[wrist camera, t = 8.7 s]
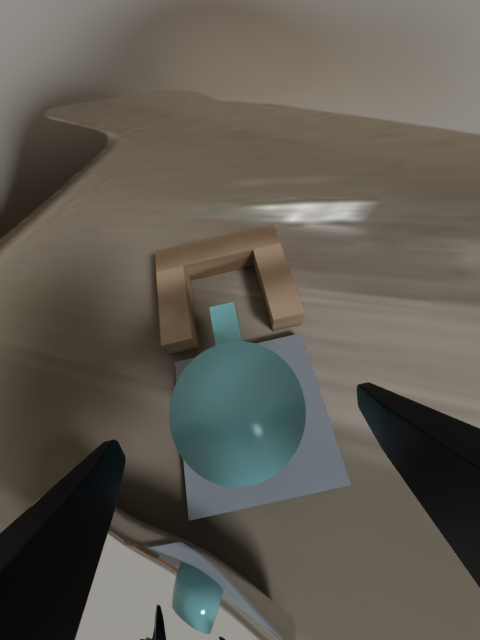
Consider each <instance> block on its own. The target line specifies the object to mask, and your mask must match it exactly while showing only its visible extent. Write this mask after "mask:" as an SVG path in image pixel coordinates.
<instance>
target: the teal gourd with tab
mask: <svg viewBox="0 0 480 640" xmlns="http://www.w3.org/2000/svg"><path fill="white" fill-rule="evenodd" d="M209 309H210V315H211V321H212V327H213V333H214V339H215V345H216V346H213V347H211V348H209V349H207V350H205V351H204V352H202V353H201V354H199V355H198V356H197V357H195V358H194V359H193V360H192V361H191V362H190V363H189V364H188V366H187V367H186V368H185V369H184V371H183V372H182V374H181V375H180V377H179V379H178V381H177V383H176V385H175V388H174V391H173V393H172V398H171V402H170V411H169V415H170V428H171V433H172V437H173V440H174V443H175V445H176V448H177V450H178V451H179V453H180V455H181V457H182V458H183V459H184V461H185V462H186V463H187V465H188V466H189V467H190V468H191V469H192V470H193V471H194V472H196V473H197V474H198V475H200V476H201V477H202V478H204V479H206V480H208V481H210V482H212V483H215V484H218V485H221V486H227V487H247V486H252V485H255V484H259V483H261V482H263V481H265V480H268V479H270V478H271V477H273V476H274V475H275V474H277V473H278V472H279V471H280V470H281V469H283V468H284V467H285V466H286V465H287V463H288V462H289V461H290V460H291V458H292V457H293V455H294V454H295V452H296V450H297V449H298V446H299V444H300V442H301V439H302V436H303V432H304V428H305V421H306V407H305V399H304V395H303V391H302V388H301V385H300V383H299V381H298V379H297V377H296V375H295V373H294V372H293V370H292V369H291V367H290V366H289V365H288V364H287V363H286V362H285V361H284V360H283V359H282V358H281V357H280V356H279V355H278V354H276V353H275V352H273V351H272V350H270V349H268V348H266V347H264V346H261V345H258V344H255V343H251V342H244V339H243V335H242V330H241V327H240V323H239V320H238V316H237V312H236V309H235V305H234V302H230V303H226V304H222V305H217V306H213V307H209Z"/></svg>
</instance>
